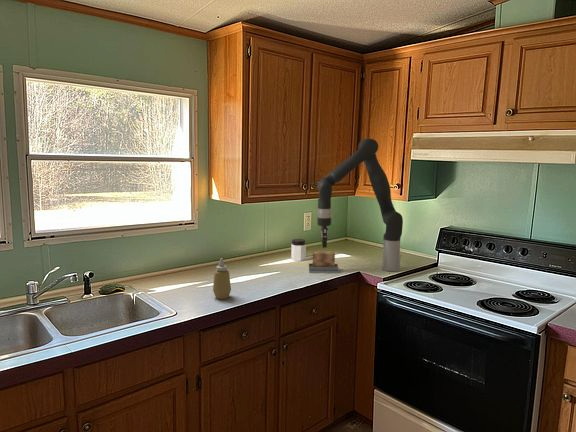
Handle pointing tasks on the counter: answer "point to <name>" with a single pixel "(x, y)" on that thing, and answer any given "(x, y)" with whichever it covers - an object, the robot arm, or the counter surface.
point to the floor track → (323, 269)
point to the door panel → (324, 259)
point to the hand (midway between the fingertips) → (324, 245)
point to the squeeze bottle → (221, 281)
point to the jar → (298, 250)
